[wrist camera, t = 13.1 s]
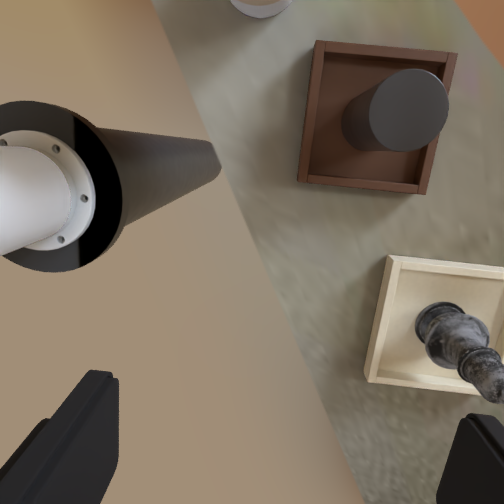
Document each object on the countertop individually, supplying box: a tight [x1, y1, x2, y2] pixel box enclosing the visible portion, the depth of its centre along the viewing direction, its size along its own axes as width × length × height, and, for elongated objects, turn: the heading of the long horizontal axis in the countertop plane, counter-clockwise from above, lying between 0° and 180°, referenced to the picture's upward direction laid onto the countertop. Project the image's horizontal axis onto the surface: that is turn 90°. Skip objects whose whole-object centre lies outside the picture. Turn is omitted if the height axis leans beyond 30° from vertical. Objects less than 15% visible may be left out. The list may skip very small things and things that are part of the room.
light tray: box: [363, 255, 504, 395], centre depth 37 cm, size 14×14×2 cm
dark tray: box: [297, 40, 458, 195], centre depth 32 cm, size 12×12×2 cm
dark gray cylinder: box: [341, 69, 449, 152], centre depth 28 cm, size 5×5×10 cm
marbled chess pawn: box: [415, 302, 504, 404], centre depth 32 cm, size 6×6×12 cm
